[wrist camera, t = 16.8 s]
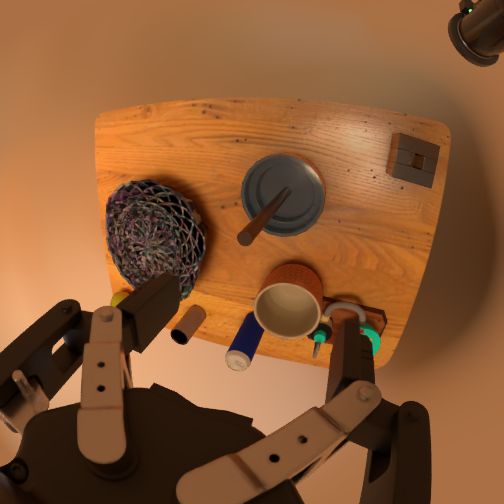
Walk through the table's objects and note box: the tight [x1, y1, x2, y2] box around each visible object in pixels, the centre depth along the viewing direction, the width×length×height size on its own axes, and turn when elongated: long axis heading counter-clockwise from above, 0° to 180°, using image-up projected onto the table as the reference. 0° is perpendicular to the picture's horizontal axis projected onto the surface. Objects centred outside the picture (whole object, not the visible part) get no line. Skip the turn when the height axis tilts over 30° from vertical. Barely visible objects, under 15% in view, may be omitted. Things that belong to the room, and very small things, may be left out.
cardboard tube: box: [171, 306, 206, 345], centre depth 66 cm, size 4×4×10 cm
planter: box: [254, 264, 323, 339], centre depth 55 cm, size 12×12×11 cm
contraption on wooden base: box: [307, 296, 387, 358], centre depth 53 cm, size 14×18×15 cm
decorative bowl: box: [105, 179, 208, 301], centre depth 60 cm, size 26×28×10 cm
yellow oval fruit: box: [111, 292, 129, 307], centre depth 72 cm, size 7×7×10 cm
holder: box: [386, 133, 440, 188], centre depth 41 cm, size 7×7×6 cm
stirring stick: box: [237, 187, 291, 246], centre depth 40 cm, size 2×2×26 cm
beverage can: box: [225, 313, 264, 371], centre depth 59 cm, size 5×5×15 cm
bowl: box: [241, 153, 326, 237], centre depth 50 cm, size 14×14×6 cm
